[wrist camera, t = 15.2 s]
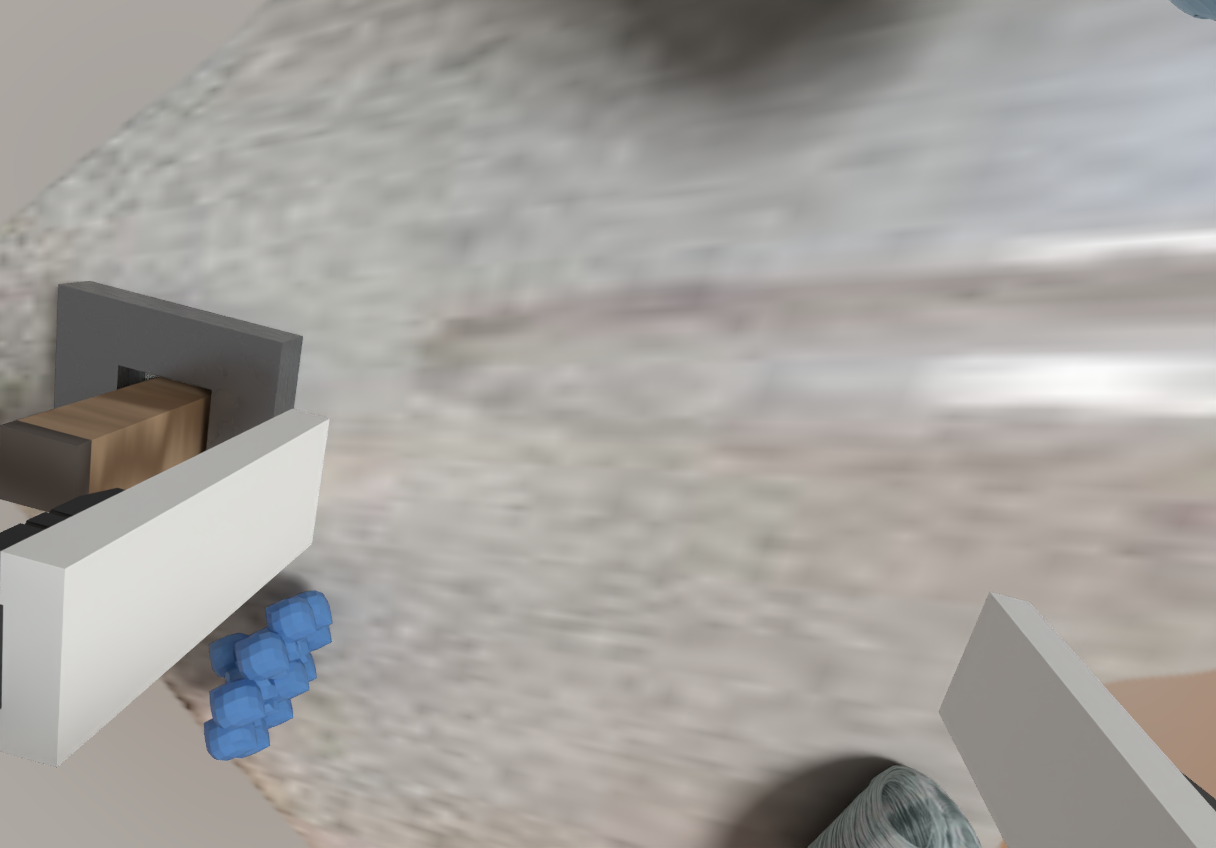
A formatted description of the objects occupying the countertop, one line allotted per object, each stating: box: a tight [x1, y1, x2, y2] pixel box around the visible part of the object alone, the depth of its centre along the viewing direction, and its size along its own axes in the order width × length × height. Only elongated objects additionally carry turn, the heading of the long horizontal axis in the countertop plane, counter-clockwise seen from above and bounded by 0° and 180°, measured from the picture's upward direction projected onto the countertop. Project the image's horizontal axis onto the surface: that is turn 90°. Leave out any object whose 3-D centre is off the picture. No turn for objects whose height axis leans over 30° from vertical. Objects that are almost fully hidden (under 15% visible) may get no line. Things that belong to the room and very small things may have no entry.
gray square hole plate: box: [54, 281, 303, 451], centre depth 49 cm, size 14×14×2 cm
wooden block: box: [0, 377, 212, 512], centre depth 44 cm, size 4×4×12 cm
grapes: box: [204, 591, 332, 761], centre depth 47 cm, size 12×7×12 cm, turn 156°
